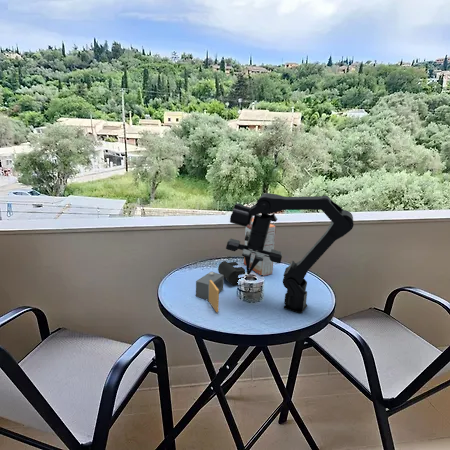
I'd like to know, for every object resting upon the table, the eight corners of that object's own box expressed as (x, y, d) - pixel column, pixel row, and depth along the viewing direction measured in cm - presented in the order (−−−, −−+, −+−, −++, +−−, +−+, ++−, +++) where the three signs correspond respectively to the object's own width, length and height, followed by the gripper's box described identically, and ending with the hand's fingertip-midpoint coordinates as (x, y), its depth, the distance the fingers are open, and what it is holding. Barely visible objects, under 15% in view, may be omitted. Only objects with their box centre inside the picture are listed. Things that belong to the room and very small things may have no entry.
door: (207, 300, 150) (208, 279, 147) (210, 300, 150) (210, 278, 147) (215, 313, 141) (216, 290, 139) (218, 313, 142) (219, 290, 139)
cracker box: (242, 264, 182) (245, 217, 176) (254, 262, 185) (257, 216, 178) (260, 277, 170) (263, 227, 164) (272, 274, 173) (276, 225, 167)
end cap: (217, 277, 169) (217, 261, 167) (233, 274, 172) (234, 259, 170) (228, 287, 160) (229, 271, 158) (245, 284, 163) (246, 268, 161)
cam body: (223, 289, 158) (224, 273, 156) (209, 300, 150) (209, 282, 148) (210, 286, 161) (211, 269, 159) (195, 296, 153) (196, 278, 150)
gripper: (286, 233, 149) (275, 274, 152) (235, 219, 151) (224, 261, 154) (286, 239, 138) (274, 284, 142) (231, 225, 140) (220, 269, 143)
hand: (248, 274), depth 145 cm, fingers closed
